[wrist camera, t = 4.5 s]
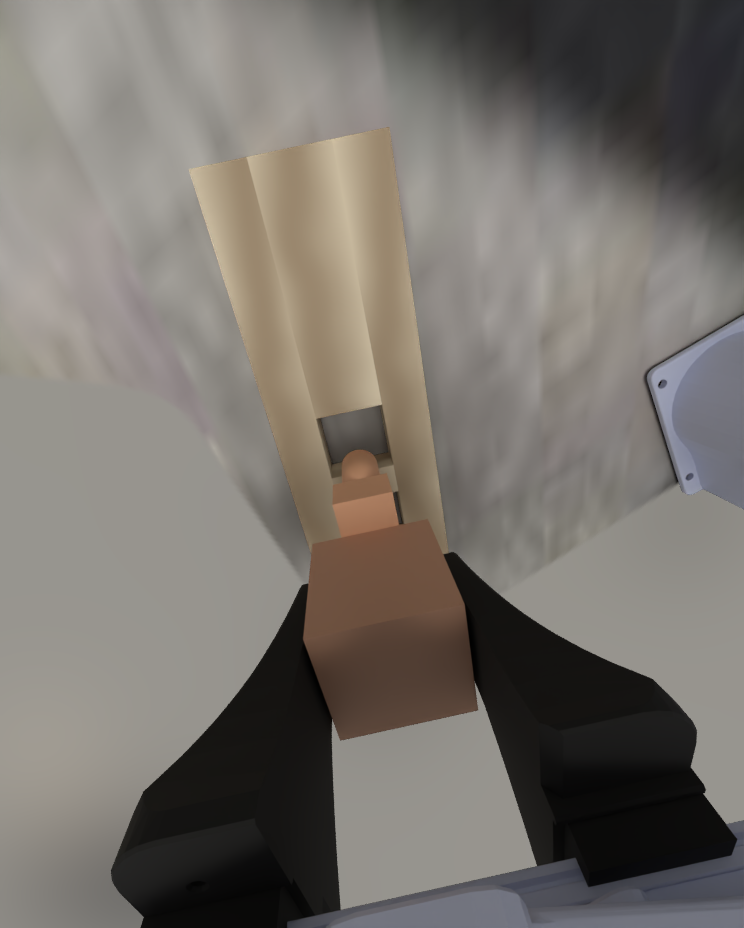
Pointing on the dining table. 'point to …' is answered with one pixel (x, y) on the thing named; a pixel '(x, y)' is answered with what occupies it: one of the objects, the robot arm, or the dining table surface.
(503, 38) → the dining table surface
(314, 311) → the rail
